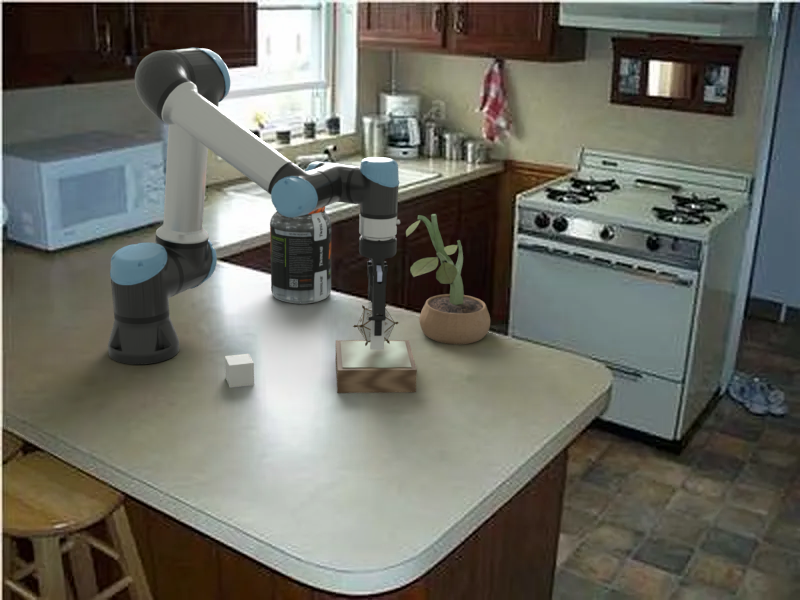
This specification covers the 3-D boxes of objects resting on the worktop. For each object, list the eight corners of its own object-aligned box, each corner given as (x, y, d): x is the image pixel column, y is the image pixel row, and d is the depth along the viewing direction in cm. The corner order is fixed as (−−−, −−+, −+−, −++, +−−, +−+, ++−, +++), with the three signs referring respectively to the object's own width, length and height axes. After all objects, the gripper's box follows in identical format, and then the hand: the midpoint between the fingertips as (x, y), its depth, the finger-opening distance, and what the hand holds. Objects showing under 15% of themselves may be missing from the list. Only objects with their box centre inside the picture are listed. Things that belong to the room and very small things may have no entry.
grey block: (229, 388, 184) (229, 365, 182) (225, 378, 188) (224, 356, 186) (254, 385, 185) (253, 362, 184) (249, 375, 190) (248, 353, 188)
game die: (381, 361, 188) (391, 336, 180) (344, 344, 189) (352, 318, 181) (397, 330, 194) (407, 304, 186) (361, 313, 194) (370, 286, 186)
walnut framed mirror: (337, 392, 183) (337, 369, 181) (335, 361, 198) (335, 339, 196) (415, 392, 185) (416, 368, 183) (408, 361, 200) (408, 339, 198)
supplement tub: (342, 299, 237) (343, 203, 228) (288, 309, 228) (287, 209, 220) (312, 283, 249) (312, 190, 240) (260, 291, 240) (259, 196, 232)
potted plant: (462, 316, 228) (469, 199, 218) (503, 340, 213) (513, 216, 204) (383, 329, 218) (387, 207, 208) (421, 355, 203) (427, 226, 193)
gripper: (401, 251, 171) (398, 360, 179) (392, 222, 192) (389, 321, 199) (362, 251, 170) (360, 360, 178) (356, 221, 191) (355, 321, 198)
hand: (375, 339), depth 188 cm, fingers closed on game die, 9 cm apart
